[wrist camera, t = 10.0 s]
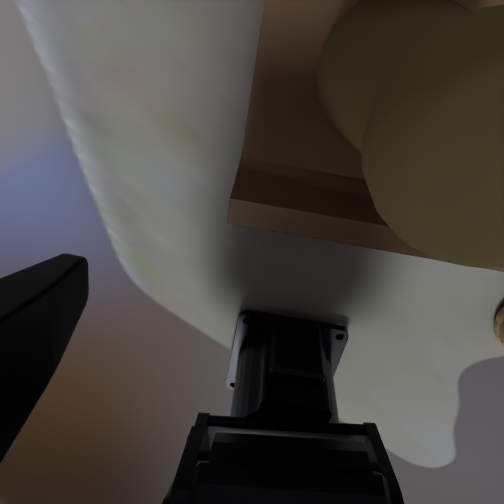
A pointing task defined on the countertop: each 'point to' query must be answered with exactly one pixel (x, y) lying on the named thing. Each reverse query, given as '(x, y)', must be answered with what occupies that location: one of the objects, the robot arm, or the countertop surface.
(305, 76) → the rack
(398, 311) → the countertop surface
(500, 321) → the sprinkles bottle
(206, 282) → the countertop surface
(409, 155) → the olive bottle gourd
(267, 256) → the countertop surface
